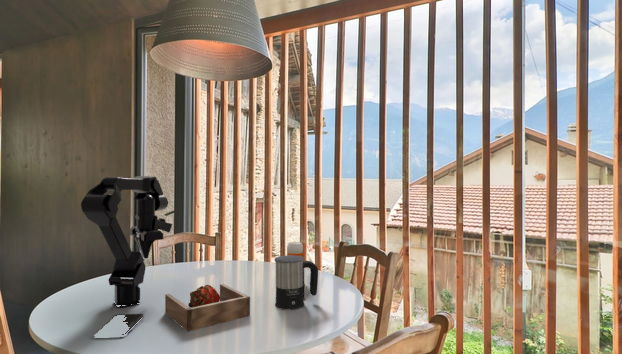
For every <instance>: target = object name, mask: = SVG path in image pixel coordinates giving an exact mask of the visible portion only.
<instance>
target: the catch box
mask: <svg viewBox="0 0 622 354" xmlns="http://www.w3.org/2000/svg"><path fill="white" fill-rule="evenodd" d="M164 295H165V298H164V300H165V301H164V302H165V303H164V305H165V306H164V310H165V312H164V314H166V315H167V314H168V315H169V316H170V317H171V318H170V317H169V316H168V315H167V316H168V317H169V318H170V319H171V320H173V321H174V320H175V321H176V322H177V323H176V322H175V321H174V322H175V323H176V324H178V325H179V326H180V327H181V326H182V327H183V330H185V331H186V332H191V331H195V330H199V329H203V328H206V327H210V326H211V327H212V326H214V325H219V324H224V323H226V322H231V321H235V320H238V319H243V318H247V317H251V296H249V295H248V294H245V293H243V292H241V291H239V290H237V289H235V288H233V287H230V286H229V285H227V284H224V283H221V284H219V295H220V300H219V302H216V303H211V304H207V305H202V306H197V307H193V308H191V307H189V305H188V304H187V305H186V304H185V303H183V301H181V300H179V299H178V298H177V297H175V296H174V295H172V294H170V293H165V294H164ZM182 327H181V328H182Z"/></svg>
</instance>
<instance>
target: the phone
mask: <svg viewBox="0 0 622 354" xmlns="http://www.w3.org/2000/svg"><path fill="white" fill-rule="evenodd" d="M117 315H125V317H127V318H126V320H125V321H123V322H128V323H126V324H127V325H128V327H130V328H129V330H130V329H131V328H132V327H133V326H134V325H135V324H136V323H137V322H138V321H139V320H140V319H141V318H142V317H143V318H144V314H143V313H122V314H120V313H119V314H115V315H114V316H117ZM114 316H113V317H114ZM113 317H111V318H113ZM125 317H124V318H125ZM143 318H142V319H143ZM142 319H141V320H142ZM141 320H140V321H141ZM140 321H139V322H140ZM129 330H128V331H129ZM128 331H127V332H128ZM127 332H126V333H127ZM126 333H125V334H126ZM122 335H124V334H122Z"/></svg>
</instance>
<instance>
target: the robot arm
mask: <svg viewBox="0 0 622 354" xmlns="http://www.w3.org/2000/svg"><path fill="white" fill-rule="evenodd" d="M125 190H130V191H132V192H135V193H136V194H137V195H135V196H134V198H133V200H134V201H136V215H135V219H136V226H132V227H130V228H129V235H130V236H135V235H136V236H135V237H133V238H134V240H135V243H137V247H138V248H139V250H140V251H135V250H134V251H132V249H131V247H130V244H129V242H128V241H127V238H126V236H125V234H124V232H123V230H122V227H121V225H120V224H119V221H118V218H117V214H118V211H119V208H118V207H119V205H120V202H121V201H122V194H121V192H122V191H125ZM108 191H113V193H112V194H106V193H108ZM168 205H169V201H168V198H167V197H166V196H165V195H164V192H163V190H162V186H161V184H160V181H159V180H158V178H157V177H156V176H155V175H141V176H140V175H137V176H133V177H132V178H131V177H129V178H127V177H120V176H107V177H104V178H102V180H101V181H100V183H98V184H97V185H96V186H94V187H92V188H91V189H89V190H88V191H87V193H86V195H84V198H83V199H82V201H81V202H80V208H81V211H82V212H83V214H84V215H85V217H86V218H87V219H88V220H89V221H90V222H93V224H95V225H97V226H98V228H99V229H100V231H101V233H102V236H103V238H104V240H105V241H106V243H107V246H108V247H109V249H110V251H111V253H112V255H113V258H114V263H113V266H112V267H113V270H112V272H111V274H110V276H109V278H108V283H109V286H114V301H115V303H116V305H121V306H122V305H131V304H136V305H138V304H137V303H140V304H141V302H140V300H141V286H139V285H141V284H142V283H143V284H144V278H145V275H146V273H145V272H146V265H145V262H144V261H145V259H148V258H149V254H150V251H151V248H152V245H153V243H154V242H156V241H159V240H160V241H162V240H164V234H165V233H163V232H166V233H170V232H171V229H172V226H173V223H170V222H167V221H166V219H165V218H161V217H158V215H156V212H157V211H164V210H165V209H166V208H167V207H168ZM131 306H132V305H131Z"/></svg>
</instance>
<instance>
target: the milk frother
mask: <svg viewBox="0 0 622 354" xmlns="http://www.w3.org/2000/svg"><path fill="white" fill-rule="evenodd" d="M304 259H305V258H304V256H303V257H302V256H295V255H287V254H286V255H280V256H277V257H274V262H275V303H274V306H275V308H277V309H280V310H284V311H285V310H286V311H290V310H297V309H298V310H299V309H301V308H303V307H304V306H305V301H304V300H305V268H306V269H307V268H308V269H310V270H309V271H310V275H309V276H310V278H309V280H310V281H309V294H310V295H312V296H317V293H318V284H319V281H318V280H319V268H318V266H317V265H316V263H314V262H313V261H311V260H304Z"/></svg>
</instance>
